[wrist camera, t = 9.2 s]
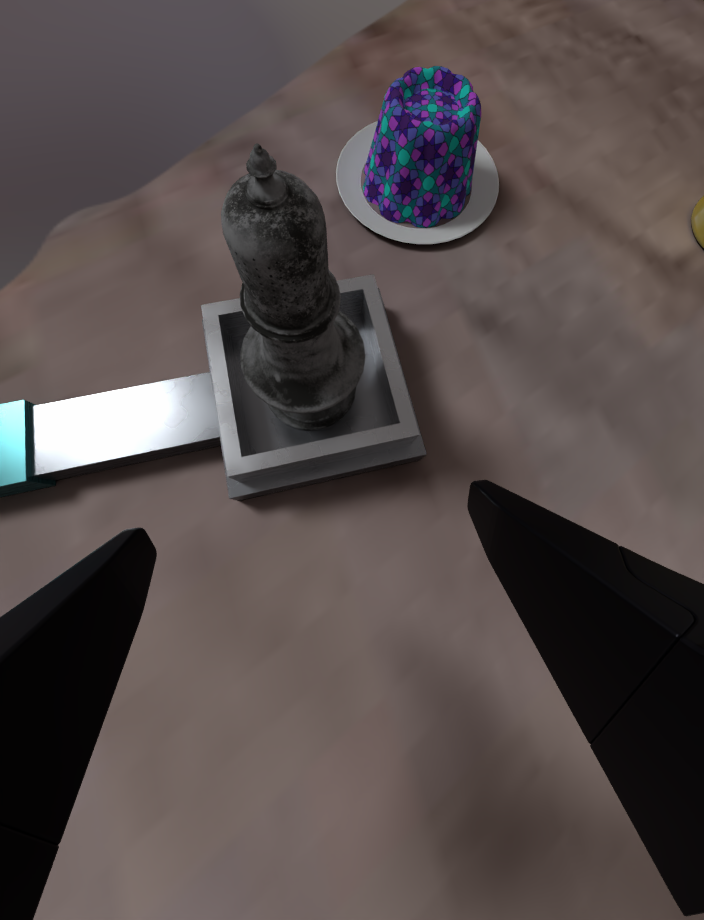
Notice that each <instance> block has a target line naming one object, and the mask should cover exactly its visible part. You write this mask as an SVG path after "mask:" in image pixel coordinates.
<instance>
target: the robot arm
mask: <svg viewBox="0 0 704 920" xmlns="http://www.w3.org/2000/svg"><path fill="white" fill-rule="evenodd" d="M468 511H469V514H470V516H471V519H472V521H473V524H474V526H475V529H476V531H477V534H478V536H479V538H480V541H481V543H482V546H483V548H484V551H485V553H486V555H487V558H488V560H489V562H490V564H491V565H492V567H493V569H494V571H495V573H496V575H497V576H498V578H499V580H500V582H501V584H502V586H503V587H504V589H505V591H506V593H507V595H508V597H509V598H510V600H511V602H512V604H513V606H514V607H515V609H516V611H517V613H518V615H519V617H520V618H521V620H522V622H523V624H524V626H525V628H526V629H527V631H528V633H529V635H530V637H531V639H532V640H533V642H534V644H535V646H536V648H537V649H538V651H539V653H540V655H541V657H542V659H543V660H544V662H545V664H546V666H547V668H548V670H549V671H550V673H551V675H552V677H553V679H554V680H555V682H556V684H557V686H558V688H559V690H560V691H561V693H562V695H563V697H564V699H565V701H566V702H567V704H568V706H569V708H570V710H571V712H572V713H573V715H574V717H575V719H576V721H577V722H578V724H579V726H580V728H581V730H582V732H583V733H584V735H585V737H586V739H587V741H588V742H589V743H590V744H591V745H590V747H591V749H592V750H593V752H594V754H595V756H596V758H597V759H598V761H599V763H600V765H601V767H602V769H603V770H604V772H605V774H606V776H607V778H608V780H609V781H610V783H611V785H612V787H613V789H614V791H615V792H616V794H617V796H618V798H619V800H620V801H621V803H622V805H623V807H624V809H625V811H626V812H627V814H628V816H629V818H630V820H631V822H632V823H633V825H634V827H635V829H636V831H637V832H638V834H639V836H640V838H641V840H642V842H643V843H644V845H645V847H646V849H647V851H648V853H649V854H650V856H651V858H652V860H653V862H654V864H655V865H656V867H657V869H658V871H659V873H660V874H661V876H662V878H663V880H664V882H665V884H666V885H667V887H668V889H669V891H670V893H671V895H672V896H673V898H674V900H675V901H676V903H677V905H678V906H679V908H680V910H681V911H682V913H683V915H684V916H691V915H696V914H701V913H704V584H702V583H700V582H698V581H695V580H693V579H691V578H688V577H686V576H684V575H682V574H679V573H677V572H675V571H673V570H670V569H668V568H666V567H664V566H662V565H660V564H658V563H655V562H653V561H651V560H649V559H647V558H645V557H643V556H641V555H639V554H637V553H635V552H633V551H631V550H629V549H627V548H625V547H622V546H618V544H616V543H614V542H612V541H610V540H608V539H606V538H604V537H602V536H600V535H598V534H596V533H594V532H592V531H590V530H588V529H586V528H584V527H582V526H580V525H578V524H576V523H574V522H572V521H569V520H567V519H565V518H563V517H561V516H559V515H557V514H555V513H553V512H551V511H549V510H547V509H545V508H543V507H541V506H539V505H537V504H535V503H533V502H531V501H529V500H527V499H525V498H523V497H521V496H519V495H517V494H515V493H513V492H511V491H509V490H507V489H504V488H502V487H500V486H498V485H496V484H494V483H492V482H490V481H488V480H479V481H473V482H472V483H471V485H470V490H469V497H468ZM156 556H157V553H156V548H155V546H154V545H153V543H152V541H151V540H150V538H149V536H148V534H147V533H146V531H145V530H144V529H143V528H132V529H126V530H124V531H122V532H121V533H119V534H118V535H116V536H115V537H113V538H112V539H111V540H109V541H108V542H106V543H105V544H104V545H102V546H101V547H99V548H98V549H96V550H95V551H94V552H92V553H91V554H89V555H88V556H87V557H85V558H84V559H82V560H81V561H79V562H78V563H77V564H75V565H74V566H72V567H71V568H70V569H68V570H67V571H65V572H64V573H62V574H61V575H60V576H58V577H57V578H55V579H54V580H53V581H51V582H50V583H48V584H47V585H45V586H44V587H43V588H41V589H40V590H38V591H37V592H36V593H34V594H33V595H31V596H30V597H28V598H27V599H26V600H24V601H23V602H21V603H20V604H19V605H17V606H16V607H14V608H13V609H11V610H10V611H9V612H7V613H6V614H4V615H3V616H2V617H0V920H33V918H34V915H35V912H36V910H37V907H38V904H39V901H40V898H41V896H42V893H43V890H44V887H45V885H46V882H47V879H48V876H49V873H50V871H51V868H52V865H53V862H54V859H55V857H56V854H57V851H58V848H59V846H58V844H59V843H60V842H61V839H62V836H63V834H64V831H65V828H66V825H67V822H68V820H69V817H70V814H71V811H72V809H73V806H74V803H75V800H76V797H77V795H78V792H79V789H80V786H81V783H82V781H83V778H84V775H85V772H86V770H87V767H88V764H89V761H90V758H91V756H92V753H93V750H94V747H95V744H96V742H97V739H98V736H99V733H100V731H101V728H102V725H103V722H104V719H105V717H106V714H107V711H108V708H109V706H110V703H111V700H112V697H113V694H114V692H115V689H116V686H117V683H118V680H119V678H120V675H121V672H122V669H123V667H124V664H125V661H126V658H127V655H128V653H129V650H130V647H131V644H132V641H133V639H134V636H135V633H136V630H137V628H138V625H139V622H140V619H141V616H142V613H143V610H144V606H145V603H146V598H147V594H148V590H149V586H150V582H151V578H152V574H153V570H154V565H155V561H156Z"/></svg>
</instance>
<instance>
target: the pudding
mask: <svg viewBox="0 0 704 920" xmlns="http://www.w3.org/2000/svg"><path fill="white" fill-rule="evenodd" d="M480 120H481V104H480V101H479V98H478V96H477V94H476V93H474V92H473V86H472V85H471V83H470V82H469V80H468V79H467V78H465V77H464V76H462V75H457V74H453V73H452V72H451V71H450V70H449V69H447V68H444V67H442V66H433V67H431V68H429V69H426V68H422V67H416V68H412V69H410V70H409V71H407V72H406V73H405V74H404V76H403V77H402V78H398V79H397V80H395V81H394V82H393V83H392V84H391V85H390V87H389V89H388V90H387V92H386V95H385V98H384V101H383V105H382V108H381V112H380V115H379V119H378V121H377V122H375V123H372V124H370V125H368V126H366V127H365V128H363V129H362V130H360V131H359V132H357V133H356V134H355V135H354V136H353V137H352V138H351V139H350V140H349V141H348V143H347V144H346V145H345V147H344V148H343V150H342V152H341V154H340V157H339V159H338V163H337V169H336V181H337V186H338V190H339V194H340V196H341V198H342V200H343V202H344V204H345V205H346V207H347V208H348V209H349V211H350V212H351V213H352V214H353V216H355V217H356V218H357V219H358V220H359V221H360V222H361V223H362V224H363V225H365V226H366V227H368V228H370V229H371V230H373V231H374V232H376V233H378V234H380V235H383V236H385V237H387V238H390V239H393V240H397V241H400V242H405V243H412V244H436V243H442V242H448V241H451V240H454V239H457V238H460V237H462V236H464V235H466V234H468V233H470V232H471V231H473V230H474V229H475V228H477V227H478V226H479V225H481V224H482V223H483V222H484V221H485V219H486V218H487V217H488V216H489V215H490V213H491V211H492V209H493V208H494V206H495V204H496V200H497V197H498V193H499V178H498V172H497V169H496V166H495V164H494V161H493V159H492V157H491V156H490V154H489V153H488V151H487V149H486V148H485V147H484V146H483V145H482V144H481V143H480V142H479V141H478V134H479V127H480ZM365 163H366V165H365ZM364 165H365V169H364V173H365V175H366V178H365V182H364V185H363V190H364V195H365V197H366V198H367V199H368V201H369V202H371V203H374V204H376V205H379V209H380V213H381V215H382V216H384V217H385V218H386V219H387V220H389V221H387V220H386V219H384V218H383V217H381V216H380V215H378V214H377V213H376V212H375V211H374V210H373V209H372V208H371V207H370V205H369V204H368V203H367V201H366V199H365V197H364V195H363V192H362V189H361V180H360V179H361V173H362V170H363V167H364ZM471 185H472V190H471ZM470 190H471V196H470V200H469V202H468V204H467V206H466V208H465V209H464V210H463V208H464V203H465V197H466V196H467V195H469V194H470ZM462 210H463V211H462ZM461 211H462V213H461ZM460 213H461V214H460ZM459 214H460V215H459ZM457 215H459V216H457ZM456 216H457V217H456ZM454 217H456V218H455V219H453V220H452V221H450V222H448V223H446V224H443V225H440V226H437V227H433V228H428V227H432V226H435V225H436V224H437V223H438V222H439V220H440V219H441V218H442V219H452V218H454ZM390 221H392V222H395V223H401V222H406V221H408V222H410V223H411V224H413V225H414V226H415V227H420V228H426V229H415V228H408V227H403V226H400V225H396V224H394V223H392V222H390Z"/></svg>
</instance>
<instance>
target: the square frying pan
mask: <svg viewBox="0 0 704 920" xmlns="http://www.w3.org/2000/svg"><path fill="white" fill-rule="evenodd" d="M337 283H338V285H339V290H340V296H341V301H340V308H339V311H341V312H342V313H343V314H345V315H346V316H348V317H349V319H350V320H351V321H352V322H353V323H354V325H355V326H356V327H357V328H358V331H359V333H360V335H361V337H362V339H363V342H364V349H365V363H364V370H363V373H362V375H361V377H360V380H359V382H358V384H357V386H356V392H355V399H354V401H353V403H352V406H351V408H350V410H349V411H348V412H347V413H346V414H345V416H344V417H343V418H342V419H341V420H339V421H338V422H336V423H335V424H333V425H331V426H329V427H326V428H323V429H320V430H311V431H307V430H300V429H296V428H293V427H291V426H288V425H286V424H284V423H283V422H282V421H281V420H279V419H278V418H277V417H276V416H275V415H274V413H273V412H272V411H271V409H270V408H269V406H268V404H267V403H265V402H264V401H263V400H262V399H260V398H259V397H258V396H256V394H255V393H254V392H253V390H252V389H251V388H250V386H249V385H248V384H247V382H246V379H245V377H244V374H243V371H242V369H241V355H240V353H241V348H242V344H243V340H244V337H245V335H246V334H247V332H248V330H249V328H250V327H251V325H250V324H249V323H248V321H247V320H246V319H245V317H244V314H243V311H242V309H241V306H240V298H238V299H233V300H227V301H221V302H216V303H210V304H205V305H201V308H202V314H203V320H202V322H203V329H204V336H205V342H206V349H207V355H208V362H209V368H210V372H208V373H203V374H198V375H192V376H187V377H182V378H177V379H172V380H167V381H161V382H156V383H151V384H146V385H141V386H136V387H130V388H125V389H120V390H115V391H110V392H105V393H99V394H94V395H89V396H84V397H79V398H74V399H68V400H63V401H58V402H53V403H48V404H43V405H35V404H33V403H30V402H28V401H25V400H22V401H16V402H11V403H6V404H1V405H0V497H4V496H9V495H14V494H18V493H23V492H28V491H32V490H37V489H42V488H47V487H51V486H56V480H60V479H65V478H70V477H75V476H79V475H84V474H89V473H94V472H98V471H103V470H108V469H112V468H117V467H122V466H127V465H131V464H136V463H141V462H146V461H150V460H155V459H160V458H165V457H169V456H174V455H179V454H184V453H188V452H193V451H198V450H203V449H207V448H212V447H217V446H221V447H222V454H223V460H224V467H225V474H226V480H227V487H228V493H229V498H230V499H233V500H237V501H240V500H245V499H249V498H253V497H258V496H262V495H267V494H271V493H276V492H280V491H285V490H289V489H294V488H298V487H302V486H307V485H311V484H316V483H320V482H325V481H329V480H334V479H338V478H343V477H347V476H351V475H356V474H360V473H365V472H369V471H374V470H378V469H383V468H387V467H392V466H396V465H400V464H405V463H409V462H414V461H418V460H421V459H422V458H423V457H424V456H425V455H426V450H425V447H424V443H423V440H422V436H421V433H420V429H419V426H418V422H417V419H416V415H415V412H414V408H413V405H412V401H411V398H410V394H409V391H408V388H407V384H406V381H405V377H404V374H403V370H402V367H401V363H400V360H399V356H398V353H397V349H396V346H395V342H394V339H393V335H392V332H391V328H390V325H389V321H388V318H387V314H386V311H385V308H384V304H383V301H382V297H381V294H380V290H379V288H377V284H376V281H375V277H374V274H373V275H368V276H362V277H356V278H351V279H345V280H339V281H337Z"/></svg>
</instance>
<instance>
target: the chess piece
mask: <svg viewBox="0 0 704 920" xmlns="http://www.w3.org/2000/svg"><path fill="white" fill-rule="evenodd" d="M246 166H247V171H248V172H249V174H247V175H245V176H243V177H241V178H240V179H239V180H238V181H236V182H235V183H234V184H233V185H232V187H231V188H230V190H229V191H228V193H227V195H226V198H225V201H224V204H223V207H222V211H221V219H222V228H223V235H224V237H225V240H226V242H227V245H228V247H229V250H230V252H231V255H232V257H233V260H234V262H235V265H236V267H237V270H238V272H239V275H240V277H241V280H242V282H243V283H242V287H241V291H240V306H241V309H242V311H243V314H244V317H245V319H246V320H247V321H248V323H249V324H250V325H251V327H250V328H249V330H248V332H247V334H246V335H245V337H244V340H243V344H242V348H241V353H240V355H241V369H242V371H243V374H244V377H245V379H246V382H247V384H248V385H249V386H250V388H251V389H252V390H253V392H254V393H255V394H256V396H258V397H259V398H260V399H262V400H263V401H264V402H265V403H267V404H268V406H269V408H270V409H271V411H272V412H273V413H274V415H275V416H276V417H277V418H278V419H279V420H281V421H282V422H283V423H284V424H286V425H288V426H291V427H293V428H296V429H300V430H307V431H311V430H320V429H323V428H326V427H329V426H331V425H333V424H335V423H336V422H338V421H339V420H341V419H342V418H343V417H344V416H345V414H346V413H347V412H348V411H349V410H350V408H351V406H352V403H353V401H354V399H355V392H356V386H357V384H358V382H359V380H360V377H361V375H362V373H363V370H364V363H365V349H364V342H363V339H362V337H361V335H360V333H359V331H358V328H357V327H356V326H355V325H354V323H353V322H352V321H351V320H350V319H349V317H348V316H346V315H345V314H343V313H342V312H341V311H339V308H340V301H341V296H340V290H339V285H338V283H337V281H336V279H335V277H334V275H333V274H332V273H331V272H330V271H329V269H328V252H327V233H326V222H325V216H324V212H323V209H322V206H321V204H320V202H319V200H318V197H317V196H316V195H315V194H314V192H313V191H312V190H311V189H310V188H309V187H308V186H307V185H306V184H305V183H304V182H303V181H302V180H301V179H299V178H298V177H296V176H295V175H293V174H290V173H288V172H285V171H281V170H276V169H277V167H276V161H275V160H274V159H273V158H272V156H269V154H268V152H267V151H266V150H264V149H263V148H262V147H261V146H260V145H259V144H255V145H254V149H253V150H252V152H251V153H250V158H249V160H248V161H247V163H246Z"/></svg>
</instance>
